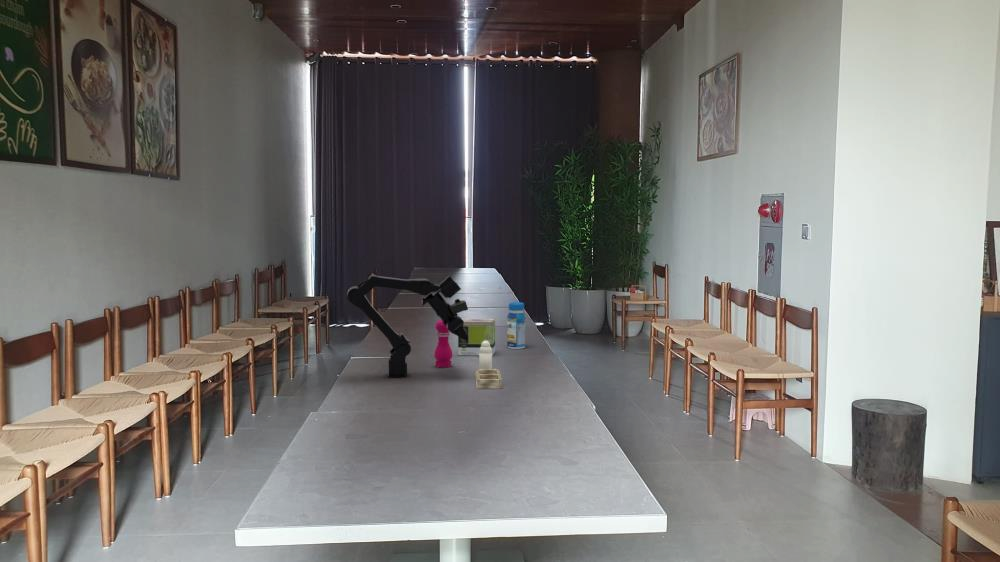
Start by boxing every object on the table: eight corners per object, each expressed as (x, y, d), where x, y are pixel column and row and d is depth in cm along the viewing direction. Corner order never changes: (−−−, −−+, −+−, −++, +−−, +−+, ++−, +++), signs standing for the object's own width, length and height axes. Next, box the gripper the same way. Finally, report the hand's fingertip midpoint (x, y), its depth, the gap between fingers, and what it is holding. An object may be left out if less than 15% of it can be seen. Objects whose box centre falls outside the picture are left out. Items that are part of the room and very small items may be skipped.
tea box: (495, 351, 326) (495, 318, 324) (492, 356, 316) (493, 322, 314) (461, 350, 327) (461, 317, 326) (457, 355, 317) (457, 321, 316)
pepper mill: (453, 364, 301) (453, 314, 299) (450, 368, 294) (450, 317, 292) (436, 363, 302) (436, 314, 300) (432, 367, 295) (432, 317, 292)
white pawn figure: (479, 375, 281) (479, 341, 280) (478, 372, 286) (479, 339, 285) (492, 375, 282) (492, 341, 280) (491, 372, 287) (491, 339, 285)
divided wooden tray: (476, 388, 262) (476, 380, 262) (475, 377, 279) (475, 369, 279) (502, 388, 263) (502, 380, 263) (499, 376, 280) (499, 369, 280)
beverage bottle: (525, 349, 331) (526, 304, 329) (506, 349, 332) (506, 304, 329) (525, 345, 340) (525, 301, 338) (506, 345, 340) (507, 301, 338)
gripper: (460, 295, 273) (486, 328, 276) (453, 289, 291) (477, 320, 294) (436, 315, 272) (463, 347, 275) (430, 308, 290) (455, 338, 293)
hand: (465, 337), depth 285 cm, fingers open, 9 cm apart
